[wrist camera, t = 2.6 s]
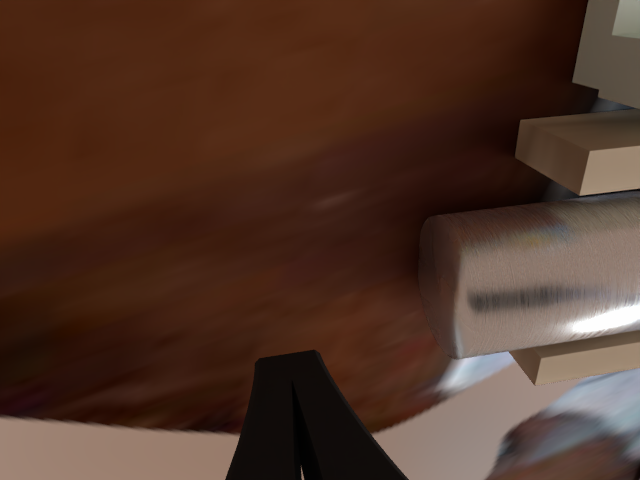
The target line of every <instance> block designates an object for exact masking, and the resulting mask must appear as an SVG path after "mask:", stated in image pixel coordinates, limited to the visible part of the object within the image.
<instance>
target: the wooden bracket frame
mask: <svg viewBox="0 0 640 480" xmlns="http://www.w3.org/2000/svg"><path fill="white" fill-rule="evenodd" d="M515 158H516V159H518V160H520V161H522V162H523V163H525V164H527V165H528V166H530V167H532V168H533V169H535V170H537V171H538V172H540V173H542V174H544V175H545V176H547V177H549V178H550V179H552V180H554V181H555V182H557V183H559V184H560V185H562V186H564V187H566V188H567V189H569V190H571V191H572V192H574V193H576V194H577V195H579V196H581V195H589V194H598V193H606V192H614V191H623V190H631V189H639V188H640V109H628V110H617V111H607V112H597V113H586V114H576V115H566V116H556V117H545V118H535V119H525V120H520V126H519V132H518V139H517V145H516V152H515ZM509 353H510V354H511V355H512V357H513V358H514V359H515V361H516V362H517V363H518V364H519V366H520V367H521V368H522V370H523V371H524V372H525V374H526V375H527V376H528V377H529V379H530V380H531V381H532V383H533V384H534V385H535V386H536V385H543V384H548V383H554V382H560V381H565V380H572V379H577V378H583V377H589V376H595V375H600V374H606V373H612V372H618V371H624V370H629V369H635V368H640V330H636V331H630V332H623V333H617V334H611V335H605V336H599V337H593V338H586V339H580V340H574V341H568V342H562V343H556V344H549V345H543V346H537V347H531V348H525V349H519V350H512V351H509Z"/></svg>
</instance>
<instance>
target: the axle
mask: <svg viewBox="0 0 640 480" xmlns="http://www.w3.org/2000/svg"><path fill="white" fill-rule="evenodd" d="M418 283H419V290H420V295H421V300H422V304H423V308H424V312H425V315H426V318H427V321H428V324H429V326H430V329H431V331H432V333H433V335H434V337H435V339H436V341H437V343H438V344H439V346H440V347H441V349H442V350H443V351H444V352H445V353H446V354H447V355H448V356H449V357H451V358H453V359H463V358H469V357H476V356H482V355H488V354H494V353H500V352H506V351H512V350H519V349H525V348H531V347H537V346H543V345H549V344H556V343H562V342H568V341H574V340H580V339H586V338H593V337H599V336H605V335H611V334H617V333H623V332H630V331H636V330H640V191H632V192H624V193H616V194H608V195H599V196H591V197H583V198H575V199H566V200H558V201H550V202H542V203H533V204H525V205H517V206H509V207H501V208H492V209H484V210H476V211H468V212H459V213H451V214H443V215H435V216H431V217H429V218H428V219H427V220H426V221H425V222H424V224H423V226H422V229H421V231H420V245H419V262H418Z"/></svg>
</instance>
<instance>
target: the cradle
mask: <svg viewBox="0 0 640 480" xmlns="http://www.w3.org/2000/svg"><path fill="white" fill-rule="evenodd" d="M572 82H573V83H577V84H580V85H584V86H588V87H591V88H595V89H599V93H598V97H599V98H603V99H606V100H610V101H613V102H617V103H620V104H623V105H627V106H630V107H634V108H637V109H640V0H588V5H587V10H586V15H585V20H584V25H583V30H582V35H581V40H580V45H579V50H578V55H577V60H576V65H575V70H574V75H573V80H572Z"/></svg>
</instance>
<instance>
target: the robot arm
mask: <svg viewBox="0 0 640 480" xmlns="http://www.w3.org/2000/svg"><path fill="white" fill-rule="evenodd" d="M301 467H302V471H303V476H304V480H409V479H408V478H407V477H406V476H405V475H404V474H403V473H402V472H401V470H400V469H399V468H398V467H397V466H396V465H395V464H394V462H393V461H392V460H391V459H390V458H389V456H388V455H387V454H386V453H385V451H384V450H383V449H382V448H381V447H380V445H379V444H378V443H377V442H376V440H375V439H374V438H373V437H372V435H371V434H370V433H369V431H368V430H367V429H366V427H365V426H364V425H363V423H362V422H361V420H360V419H359V418H358V416H357V415H356V414H355V412H354V411H353V409H352V408H351V407H350V405H349V404H348V402H347V401H346V399H345V398H344V396H343V395H342V393H341V392H340V390H339V388H338V387H337V385H336V384H335V382H334V380H333V379H332V377H331V375H330V373H329V372H328V370H327V368H326V366H325V364H324V362H323V360H322V358H321V355H320V353H319V352H317V351H316V350H310V351H303V352H297V353H291V354H284V355H278V356H271V357H265V358H259V360H258V361H257V362H256V363H255V373H254V381H253V387H252V392H251V397H250V401H249V405H248V410H247V414H246V417H245V421H244V424H243V428H242V431H241V435H240V438H239V442H238V445H237V448H236V451H235V454H234V456H233V459H232V462H231V465H230V468H229V470H228V474H227V476H226V479H225V480H302V479H301ZM639 480H640V478H639Z"/></svg>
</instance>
